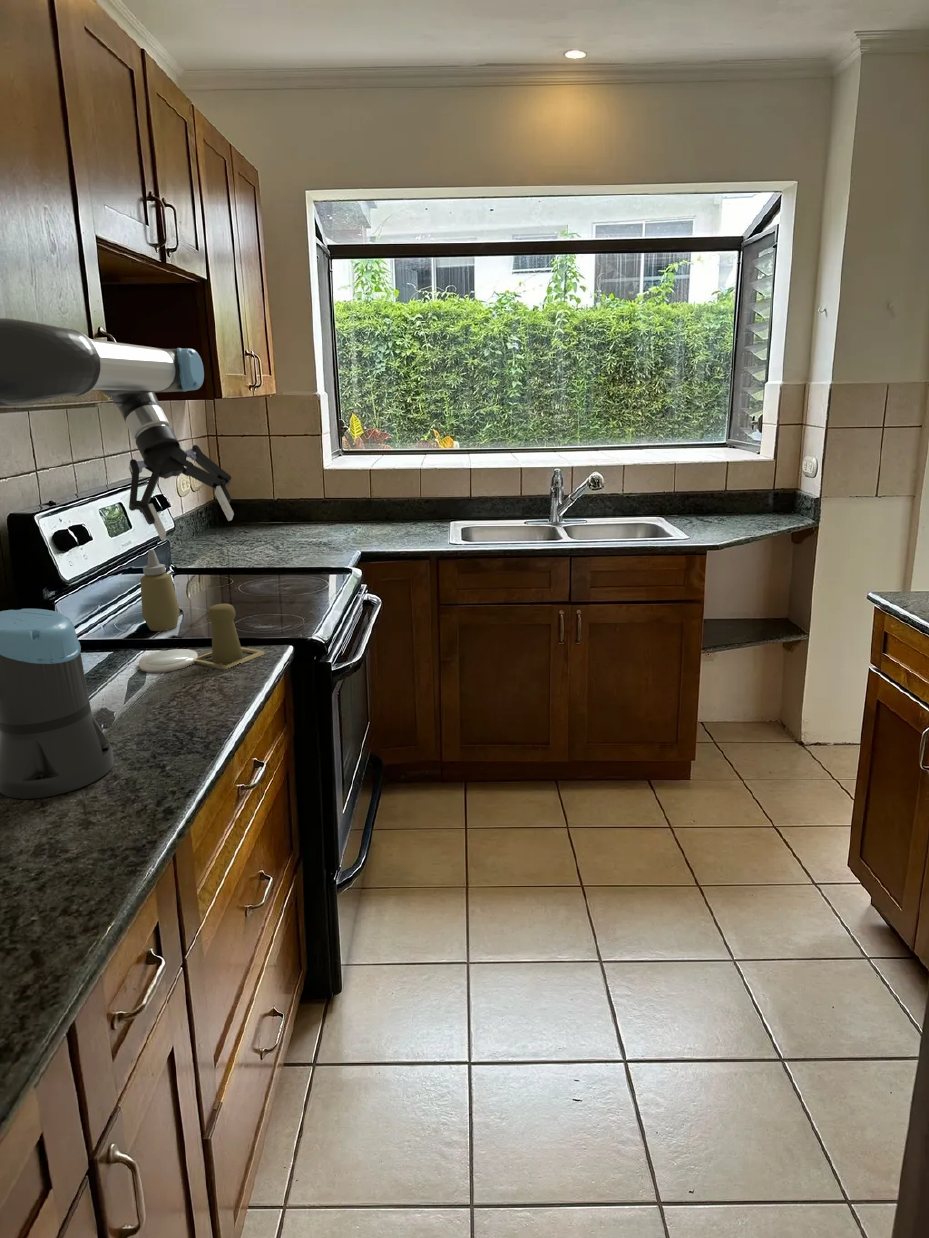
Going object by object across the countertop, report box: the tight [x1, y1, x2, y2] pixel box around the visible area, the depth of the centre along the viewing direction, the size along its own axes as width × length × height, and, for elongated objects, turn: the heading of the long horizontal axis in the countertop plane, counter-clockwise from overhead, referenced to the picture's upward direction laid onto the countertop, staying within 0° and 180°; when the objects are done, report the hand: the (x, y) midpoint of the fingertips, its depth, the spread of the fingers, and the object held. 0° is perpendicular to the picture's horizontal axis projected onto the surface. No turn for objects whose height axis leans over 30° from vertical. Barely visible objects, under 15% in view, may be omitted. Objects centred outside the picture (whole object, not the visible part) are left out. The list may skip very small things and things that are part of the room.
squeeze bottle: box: [140, 549, 181, 632], centre depth 186 cm, size 8×8×18 cm
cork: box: [207, 603, 244, 664], centre depth 164 cm, size 6×6×11 cm
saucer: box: [138, 648, 199, 674], centre depth 164 cm, size 11×11×1 cm
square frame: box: [194, 646, 265, 670], centre depth 165 cm, size 10×10×1 cm
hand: (198, 526), depth 161 cm, fingers open, 13 cm apart
